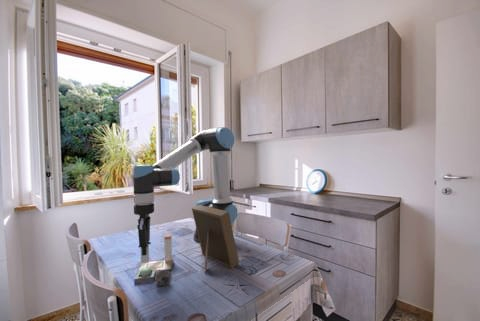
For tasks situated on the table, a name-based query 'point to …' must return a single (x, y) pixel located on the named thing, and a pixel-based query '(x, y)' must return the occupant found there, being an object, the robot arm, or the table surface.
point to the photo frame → (215, 235)
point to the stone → (162, 277)
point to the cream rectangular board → (157, 265)
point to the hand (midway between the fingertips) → (145, 262)
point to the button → (145, 272)
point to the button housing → (145, 277)
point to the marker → (168, 248)
